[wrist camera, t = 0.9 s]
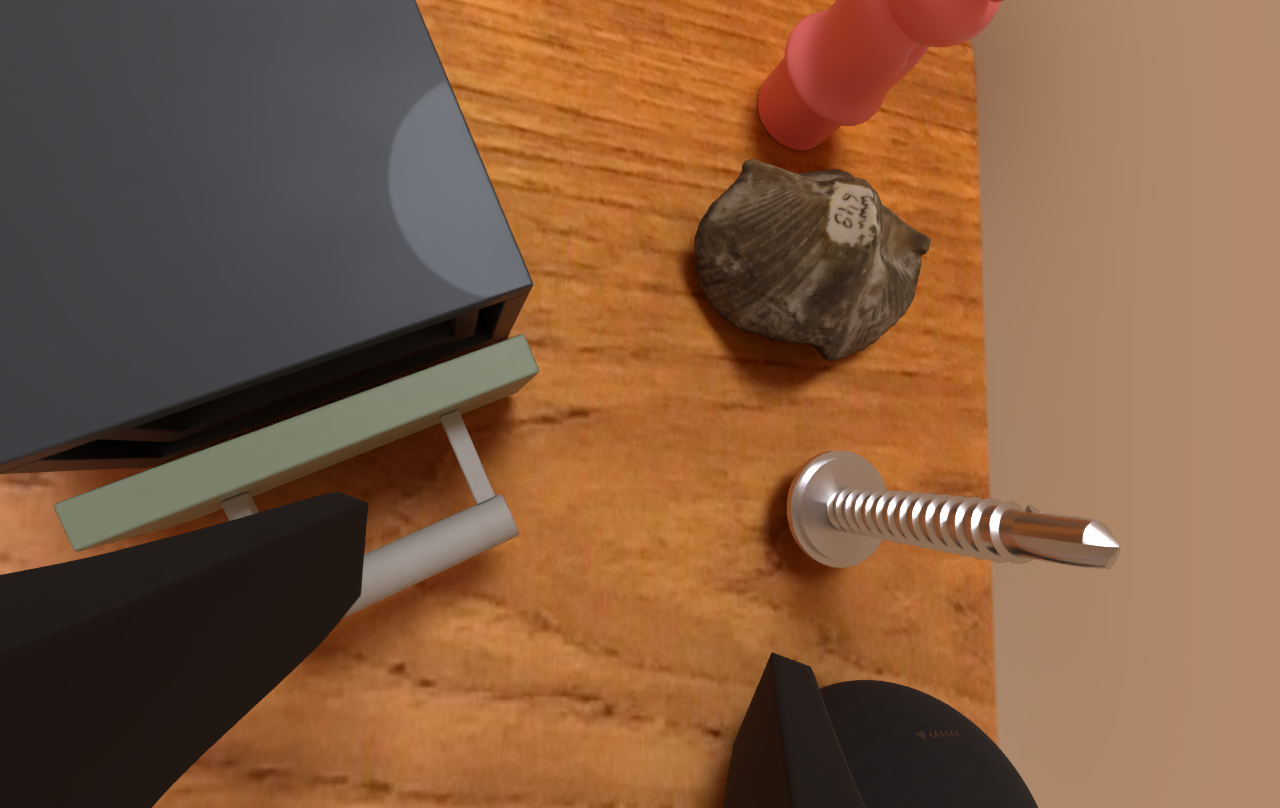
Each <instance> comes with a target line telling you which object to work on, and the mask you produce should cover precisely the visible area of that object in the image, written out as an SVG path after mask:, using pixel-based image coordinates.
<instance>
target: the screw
mask: <svg viewBox="0 0 1280 808" xmlns="http://www.w3.org/2000/svg"><path fill="white" fill-rule="evenodd" d="M786 504H787V518H788V523H789V528H790V530H791V533H792V535H793V538H794V540H795V541H796V543H797V544H798V546H799V547H800V549H801V550H802V551H803V552H804V553H805V554H806V555H807V556H808V557H810V558H811V559H813V560H815V561H816V562H818V563H820V564H824V565H827V566H831V567H838V568H846V567H850V566H854V565H857V564H858V563H860V562H862V561H864V560H866V559H867V558H868V557H869V556H870V555H871V554H873V553H874V551H875V550H876V549H877V547H878V546H879V545H880V543H881V541H882V540H886V541H893V542H896V543H904V544H907V545H916V546H918V547H921V548H930V549H932V550H937V551H941V550H942V551H944V552H947V553H957V554H959V555H962V556H973V557H975V558H977V559H989V560H991V561H993V562H997V563H1004V562H1008V561H1009V562H1011V563H1015V564H1023V563H1027V562H1029V561H1031V560H1033V559H1035V560H1041V561H1046V562H1052V563H1058V564H1063V565H1069V566H1076V567H1084V568H1094V569H1110V568H1112V566H1113V565H1114V564H1115V563H1116V561H1117V559H1118V556H1119V551H1120V546H1119V545H1118V543H1117V541H1116V539H1115V538H1114V536H1113V534H1112V533H1111V531H1110V530H1109V529H1108V528H1107V526H1106V525H1104V524H1103V523H1101V522H1099V521H1096V520H1093V519H1088V518H1084V517H1078V516H1068V515H1059V514H1049V513H1040V511H1039V510H1038V509H1037V508H1035V507H1034V506H1031V505H1028V506H1027V508H1026V510H1023V509H1022V508H1021V507H1020V505H1018V504H1017V503H1015V502H1012V501H1005V502H1000V501H999V500H996V499H993V498H988V499H985V500H983V499H981V498H979V497H970V498H966V497H964V496H954V497H952V496H950V495H937V494H933V493H930V494H924V493H920V492H916V493H912V492H908V491H904V492H900V491H896V490H893V491H889V490H886V487H885V484H884V482H883V480H882V478H881V476H880V474H879V473H878V471H877V470H876V469H875V468H874V466H873V465H872V464H871V463H870V462H868V461H867V460H866V459H865V458H863V457H861V456H859V455H857V454H855V453H852V452H848V451H827V452H824V453H820V454H818V455H816V456H814V457H813V458H811V459H809V460H808V461H807V462H806V463H805V464H804V465H803V466H802V467H801V468H800V469H799V471H798V472H797V474H796V475H795V477H794V479H793V481H792V484H791V486H790V489H789V493H788V499H787V503H786Z"/></svg>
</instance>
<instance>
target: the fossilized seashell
mask: <svg viewBox="0 0 1280 808" xmlns="http://www.w3.org/2000/svg"><path fill="white" fill-rule="evenodd" d="M930 243H931V239H930V238H929V237H927V236H926V235H924V234H922V233H920V232H918V231H916V230H915V229H913V228H912V227H910V226H909V225H908V224H906V223H905V222H904V221H902V220H901V219H900V218H899V217H898V216H897V215H896V214H895V213H893V212H892V211H891V210H890V209H888V208H887V207H885V206H883V205H882V203H881V200H880V198H879V196H878V193H877V192H876V191H875V190H874V189H873V188H872V187H871V185H870V184H869V183H868V182H867V181H866V180H864V179H859V178H855V177H853V176H852V175H851V174H850V173H848V172H844V171H842V170H835V169H831V170H820V171H812V172H807V173H799V174H796V173H792V172H789V171H787V170H784V169H781V168H779V167H776V166H772V165H769V164H767V163H762V162H759V161H757V160H754V159H750V160H747V161H745V162H744V164H743V165H742V172H741V173H740V175H739V177H738V179H737V180H736V181H735V182H734V184H732V185H731V186H730V187H729V188H728V190H726V191H725V192H724V193H723V194H722V195H721V196H720V197H719V198H718V199H717V200H716V201H714V202H713V203H712V204H711V206H710V207H709V209H708V211H707V212H706V214H705V215H704V217H703V218H702V220H701V221H700V223H699V226H698V230H697V233H696V236H695V255H696V272H697V275H698V279H699V284H700V286H701V287H702V289H703V291H704V293H705V295H706V296H707V298H708V300H709V302H710V304H711V305H712V306H713V307H714V308H715V309H716V310H717V312H718V313H719V314H720V315H721V316H722V317H723V318H725V319H726V320H727V321H729V322H731V323H733V324H734V325H736V326H737V327H738V328H739V329H741V330H743V331H746V332H751V333H754V334H757V335H760V336H763V337H766V338H768V339H771V340H780V341H783V342H787V341H788V342H795V343H807V344H811V345H812V346H813V347H814V348H816V349H817V350H818V351H819V353H820V354H821V355H822V357H823V358H824V359H826V360H828V361H834V360H836V359H840V358H845V357H847V356H848V355H850V354H853V353H855V352H856V351H860V350H864V349H865V348H866V347H868V346H869V345H871V344H872V343H874V342H876V340H877V339H878V338H879V337H880V336H881V335H883V334H884V333H885V332H886V331H887V330H888V329H889V328H890V327H892V326H893V325H895V323H896V322H897V321H898V320H899V319H900V318H901V317H902V316H903V315H904V314H905V312H906V311H907V309H908V308H909V306H910V305H911V303H912V301H913V298H914V295H915V289H916V285H917V282H918V276H919V273H920V267H921V256H922V255H924V254H926V253H927V251H928V250H929V247H930Z"/></svg>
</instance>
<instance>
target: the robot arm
mask: <svg viewBox="0 0 1280 808" xmlns="http://www.w3.org/2000/svg"><path fill="white" fill-rule="evenodd" d="M367 511H368V502H365V501H362V500H360V499H357V498H354V497H351V496H349V495H346V494H343V493H341V492H333V493H329V494H324V495H320V496H316V497H312V498H309V499H305V500H301V501H298V502H294V503H291V504H287V505H284V506H280V507H277V508H273V509H270V510H266V511H263V512H259V513H256V514H252V515H249V516H245V517H242V518H238V519H235V520H231V521H228V522H224V523H221V524H217V525H214V526H210V527H207V528H203V529H200V530H196V531H193V532H189V533H185V534H181V535H177V536H173V537H169V538H165V539H161V540H157V541H153V542H150V543H146V544H142V545H138V546H134V547H130V548H126V549H122V550H118V551H114V552H110V553H106V554H102V555H97V556H93V557H88V558H84V559H79V560H74V561H70V562H65V563H60V564H55V565H50V566H45V567H40V568H35V569H29V570H24V571H19V572H14V573H9V574H3V575H0V808H152V807H153V805H154V804H155V803H156V802H157V801H158V800H159V799H160V798H161V797H162V796H163V794H164V793H165V792H166V791H167V790H168V789H169V788H170V787H171V786H172V785H173V784H174V783H175V782H176V781H177V780H178V779H179V778H180V777H181V776H182V775H183V774H184V773H185V772H186V771H187V770H188V769H189V768H190V767H191V766H192V765H193V764H194V763H195V762H196V761H197V760H198V759H199V758H200V757H201V756H202V755H203V754H204V753H205V752H206V751H207V750H208V749H209V748H210V747H211V746H213V745H214V744H215V743H216V742H217V741H218V740H219V739H220V738H221V737H222V736H223V735H224V734H225V733H226V732H228V731H229V730H230V729H231V728H232V727H233V726H234V725H235V724H236V723H237V722H238V721H239V720H240V719H241V718H243V717H244V716H245V715H246V714H247V713H248V712H249V711H250V710H251V709H252V708H253V707H254V706H255V705H256V704H258V703H259V702H260V701H261V700H262V699H263V698H264V697H265V696H266V695H267V694H268V693H269V692H270V691H271V690H273V689H274V688H275V687H276V686H277V685H278V684H279V683H280V682H281V681H282V680H283V679H284V678H285V677H286V676H287V675H289V674H290V673H291V672H292V671H293V670H294V669H295V668H296V667H297V666H298V665H299V664H300V663H301V662H302V661H303V660H304V659H305V658H306V657H307V656H309V655H310V654H311V653H312V652H313V651H314V650H315V649H316V648H317V647H318V646H319V645H320V644H321V643H322V641H323V640H324V639H325V638H326V637H327V636H328V635H329V633H330V632H331V631H332V630H333V629H334V628H335V626H336V625H337V624H338V623H339V622H340V621H341V619H342V618H343V617H344V616H345V614H346V613H347V612H348V611H349V610H350V608H351V607H352V606H353V605H354V603H355V602H356V601H357V600H358V598H359V597H360V596H361V589H362V576H363V563H364V550H365V537H366V524H367ZM723 808H865V805H864V803H863V800H862V798H861V796H860V793H859V791H858V789H857V786H856V784H855V782H854V779H853V777H852V774H851V772H850V770H849V767H848V765H847V762H846V760H845V757H844V755H843V752H842V749H841V747H840V744H839V741H838V739H837V736H836V734H835V731H834V728H833V726H832V723H831V720H830V718H829V715H828V712H827V709H826V707H825V704H824V701H823V698H822V695H821V692H820V690H819V687H818V684H817V681H816V678H815V675H814V673H813V671H812V669H811V667H810V666H807V665H804V664H802V663H799V662H796V661H794V660H791V659H788V658H786V657H783V656H780V655H778V654H775V653H771V655H770V658H769V660H768V663H767V665H766V667H765V670H764V672H763V675H762V677H761V679H760V682H759V684H758V687H757V689H756V691H755V694H754V696H753V698H752V701H751V703H750V706H749V708H748V710H747V713H746V715H745V718H744V720H743V722H742V725H741V727H740V730H739V732H738V734H737V737H736V739H735V741H734V745H733V750H732V756H731V762H730V767H729V773H728V779H727V785H726V791H725V797H724V803H723Z"/></svg>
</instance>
